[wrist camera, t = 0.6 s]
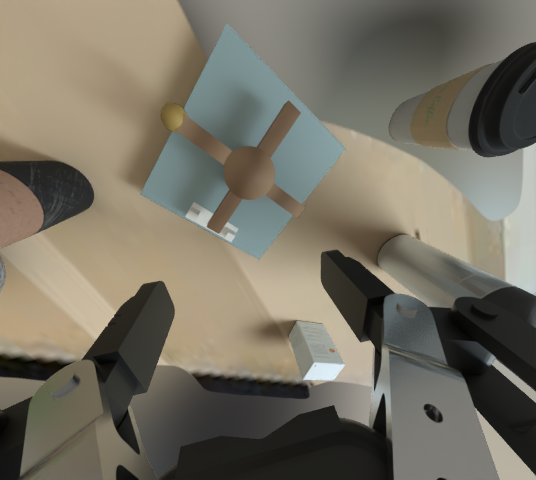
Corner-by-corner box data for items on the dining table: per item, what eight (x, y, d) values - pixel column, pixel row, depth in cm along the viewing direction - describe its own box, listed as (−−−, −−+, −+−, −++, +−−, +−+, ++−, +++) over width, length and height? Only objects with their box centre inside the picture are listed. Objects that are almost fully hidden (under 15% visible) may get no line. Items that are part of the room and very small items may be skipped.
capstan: (328, 156, 27) (347, 158, 23) (260, 245, 32) (265, 261, 27) (209, 40, 20) (203, 9, 16) (142, 176, 24) (122, 182, 20)
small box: (287, 335, 48) (301, 380, 38) (296, 319, 46) (313, 362, 37) (314, 338, 50) (333, 381, 41) (324, 323, 48) (346, 365, 39)
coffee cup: (388, 84, 28) (533, 22, 14) (441, 87, 29) (619, 35, 16) (372, 154, 32) (474, 157, 18) (420, 154, 33) (547, 157, 20)
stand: (335, 148, 30) (353, 148, 26) (256, 251, 36) (260, 265, 31) (223, 33, 22) (221, 4, 18) (144, 187, 28) (128, 194, 23)
